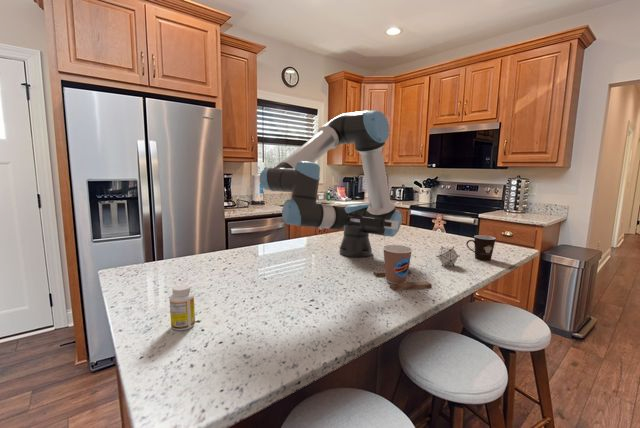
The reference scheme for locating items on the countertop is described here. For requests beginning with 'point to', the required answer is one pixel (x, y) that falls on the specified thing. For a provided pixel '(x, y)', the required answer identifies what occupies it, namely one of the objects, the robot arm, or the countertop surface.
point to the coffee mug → (483, 247)
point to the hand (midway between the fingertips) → (384, 223)
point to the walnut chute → (404, 285)
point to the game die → (448, 256)
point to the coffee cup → (396, 263)
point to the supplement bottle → (182, 308)
